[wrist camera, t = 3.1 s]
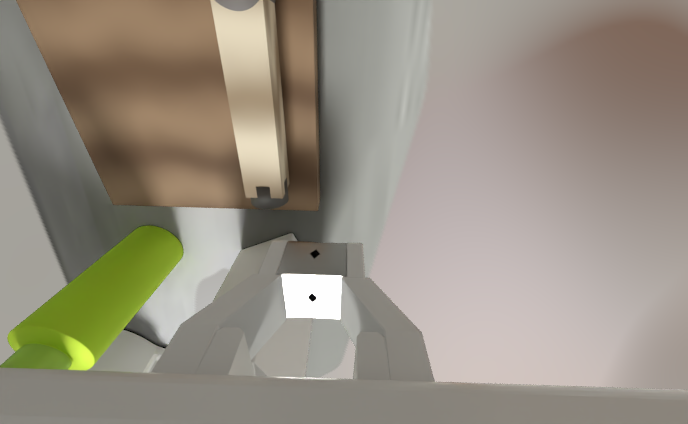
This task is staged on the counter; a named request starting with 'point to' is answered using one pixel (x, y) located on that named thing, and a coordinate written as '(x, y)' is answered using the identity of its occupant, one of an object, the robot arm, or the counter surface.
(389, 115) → the counter surface
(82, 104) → the wooden tray
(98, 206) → the counter surface
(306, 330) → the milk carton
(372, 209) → the counter surface
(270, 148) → the folding leg
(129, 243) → the soap dispenser
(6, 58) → the counter surface
